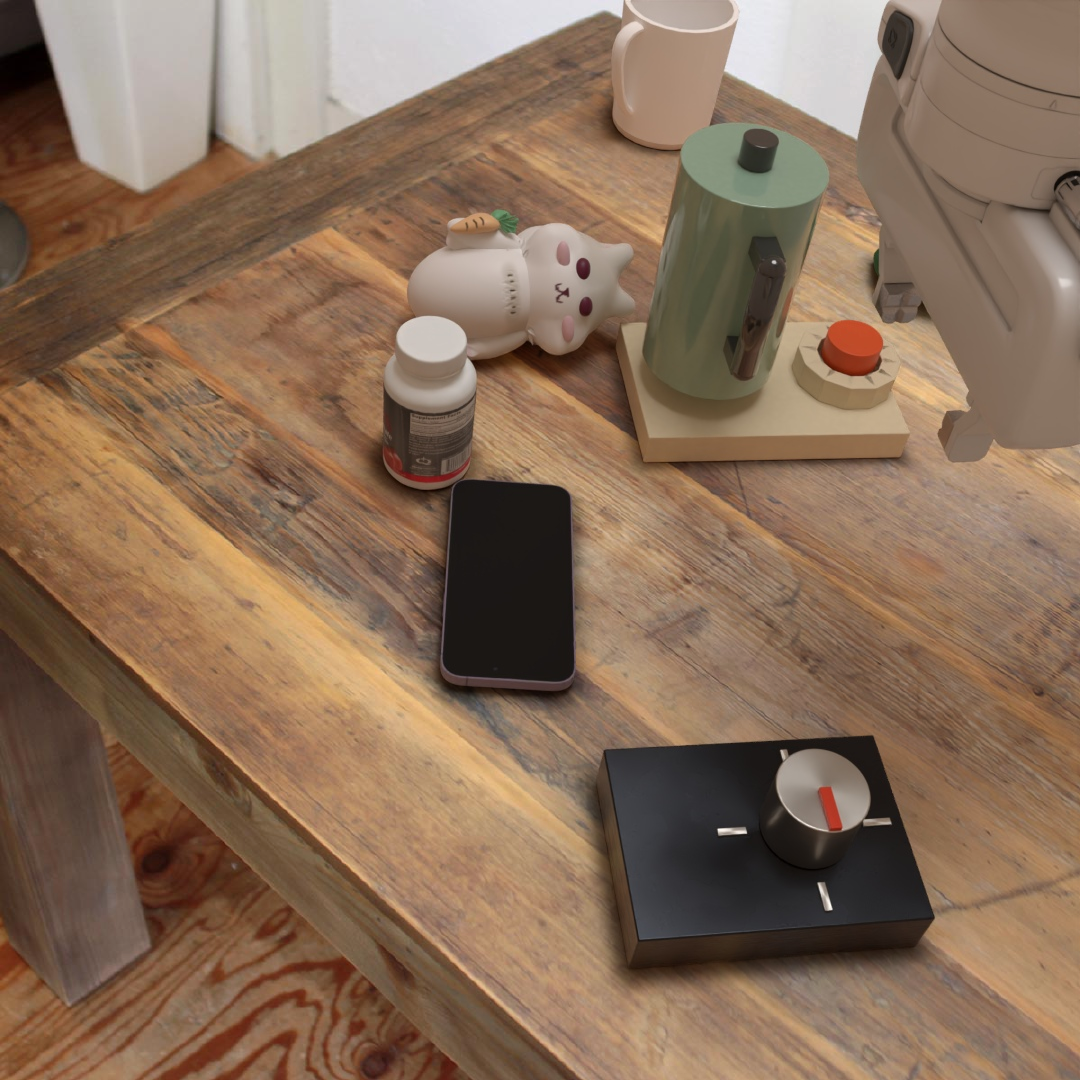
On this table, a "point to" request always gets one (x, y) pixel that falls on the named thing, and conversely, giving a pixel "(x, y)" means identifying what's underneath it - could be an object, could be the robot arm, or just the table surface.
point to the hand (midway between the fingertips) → (923, 379)
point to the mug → (669, 67)
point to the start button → (852, 347)
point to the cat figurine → (521, 284)
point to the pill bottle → (429, 404)
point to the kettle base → (769, 407)
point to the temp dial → (814, 808)
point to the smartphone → (509, 587)
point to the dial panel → (747, 859)
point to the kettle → (731, 258)
